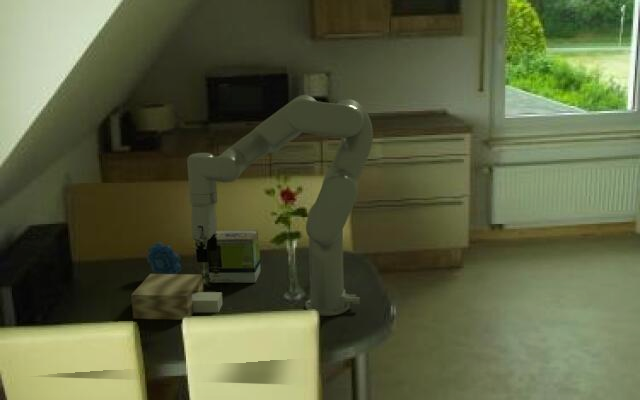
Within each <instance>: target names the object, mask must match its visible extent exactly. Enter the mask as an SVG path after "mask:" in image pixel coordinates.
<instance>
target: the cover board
mask: <svg viewBox="0 0 640 400" xmlns="http://www.w3.org/2000/svg"><path fill="white" fill-rule="evenodd" d="M192 302H193V313H219V312H220V310H221V308H222V306H223V292H219V291H218V292H216V291H213V292H212V291H204V292H192Z"/></svg>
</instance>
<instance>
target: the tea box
mask: <svg viewBox="0 0 640 400" xmlns="http://www.w3.org/2000/svg"><path fill="white" fill-rule="evenodd" d="M216 234H217V235H216V237H217V250H216V251H212V250H208V260H209V261H208V262H207V268H208V278H210V279H211V280H213V281H214V282H213V283H244V284H245V283H251V284H254V283H257V280H258V278H259V275H260V274H261V259H260V258H261V257H260V255H261V254H260V243H259V231H258V230H257V229H253V230H252V229H247V230H246V229H245V230H241V229H239V230H216Z"/></svg>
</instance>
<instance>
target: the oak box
mask: <svg viewBox="0 0 640 400" xmlns="http://www.w3.org/2000/svg"><path fill="white" fill-rule="evenodd" d="M203 279H204V278H203V274H193V273H192V274H188V273H187V274H183V273H180V274H179V273H177V274H160V273H150V274H149V275H148V276H147V277H146V278H145V279H144V280H143V281H142V282H141V284H139V285H138V287H137V288H135V290H134V291H133V292H132V293H131V297H130V298H131V307H132V317H133V319H136V320H137V319H141V320H142V319H144V320H181V319H182V318H183V317H185V316H191V317H192V315H193V314H194V312H193V302H192V292H205V291H204V282H203V281H204V280H203Z"/></svg>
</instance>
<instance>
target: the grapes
mask: <svg viewBox="0 0 640 400" xmlns="http://www.w3.org/2000/svg"><path fill="white" fill-rule="evenodd" d="M147 251H148V252H149V254H148V255H147V256H146V260H147V262H149V263H150V264H151V265H150V266H151V269H152V271H153V272H154V273H159V274H178V272H180V271H181V270H182V265H181V264H180V263H179V262H180V260H181V258H180V255H179V254H178V253H176V252H174V249H173V246H171V245H168V244H166V245H164V244H163V243H162V242H156V243H155V244H154V246H153V245H150V246H149V247H148V248H147Z"/></svg>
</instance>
